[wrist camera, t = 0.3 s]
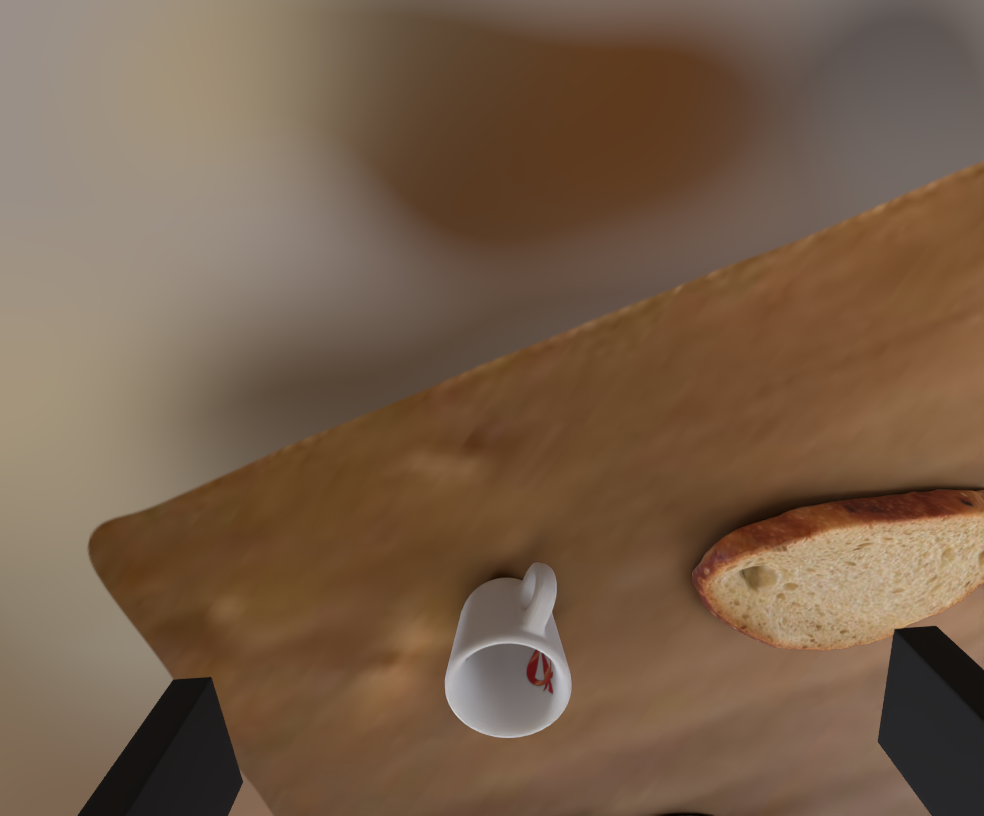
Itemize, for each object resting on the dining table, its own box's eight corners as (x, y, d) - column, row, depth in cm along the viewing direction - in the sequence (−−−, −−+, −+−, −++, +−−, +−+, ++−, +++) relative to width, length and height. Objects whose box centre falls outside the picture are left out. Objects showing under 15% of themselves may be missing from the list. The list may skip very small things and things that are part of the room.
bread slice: (1026, 512, 41) (1077, 540, 37) (852, 686, 46) (882, 726, 42) (831, 386, 38) (866, 404, 34) (667, 586, 43) (683, 619, 39)
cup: (491, 516, 41) (490, 583, 33) (592, 553, 42) (614, 627, 34) (438, 631, 44) (426, 717, 37) (533, 664, 45) (540, 754, 38)
